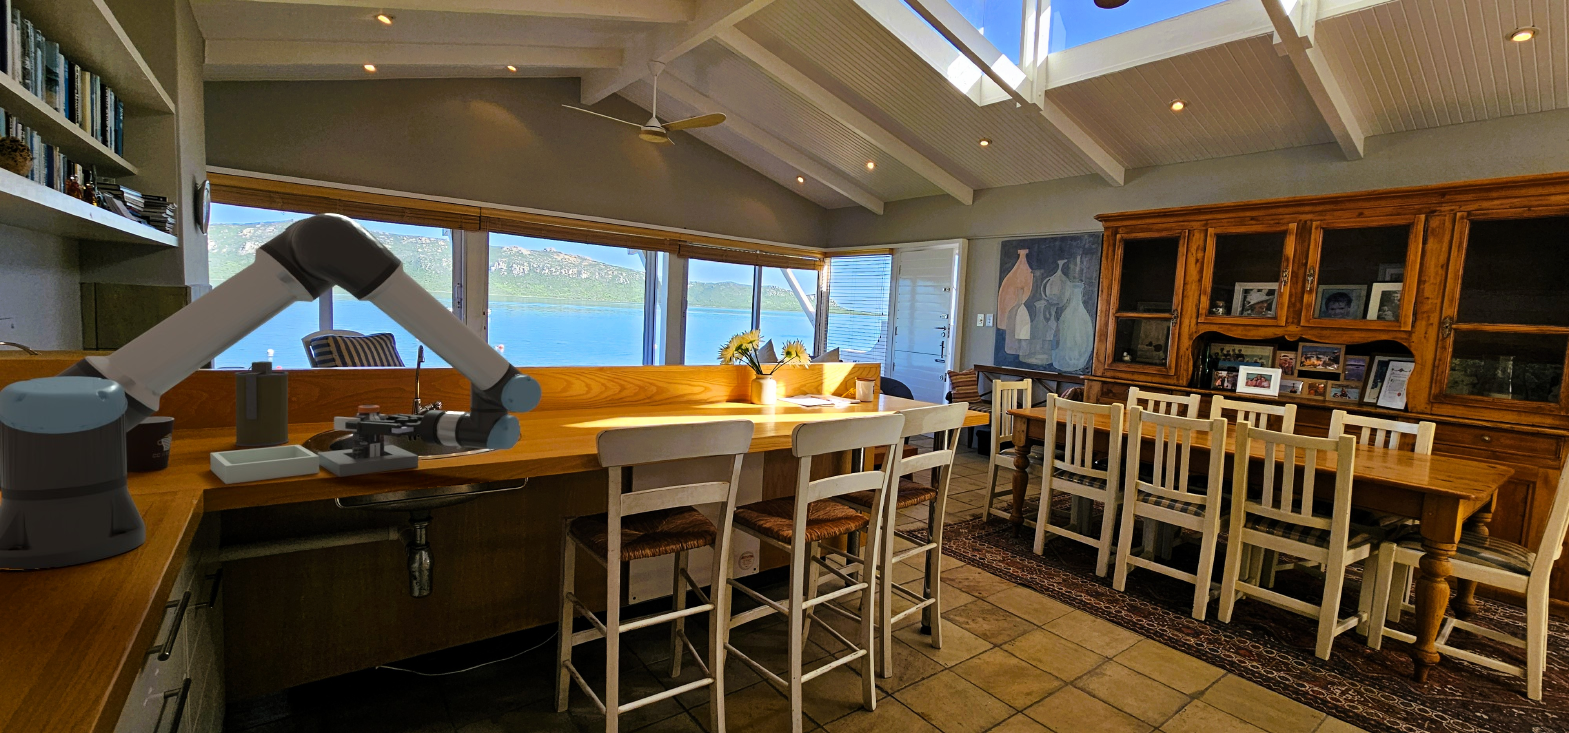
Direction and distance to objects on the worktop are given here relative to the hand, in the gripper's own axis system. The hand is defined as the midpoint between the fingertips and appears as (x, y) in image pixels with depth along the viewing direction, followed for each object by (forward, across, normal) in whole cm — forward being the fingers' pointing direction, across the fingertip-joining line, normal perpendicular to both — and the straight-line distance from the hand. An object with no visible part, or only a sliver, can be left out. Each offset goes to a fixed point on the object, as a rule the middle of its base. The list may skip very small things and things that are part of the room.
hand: (347, 421), depth 145 cm
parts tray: (+10, -10, -10) cm, 17 cm away
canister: (+33, +13, -10) cm, 37 cm away
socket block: (-5, 0, -10) cm, 11 cm away
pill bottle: (-5, 0, -8) cm, 9 cm away
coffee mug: (+31, -14, -10) cm, 36 cm away
